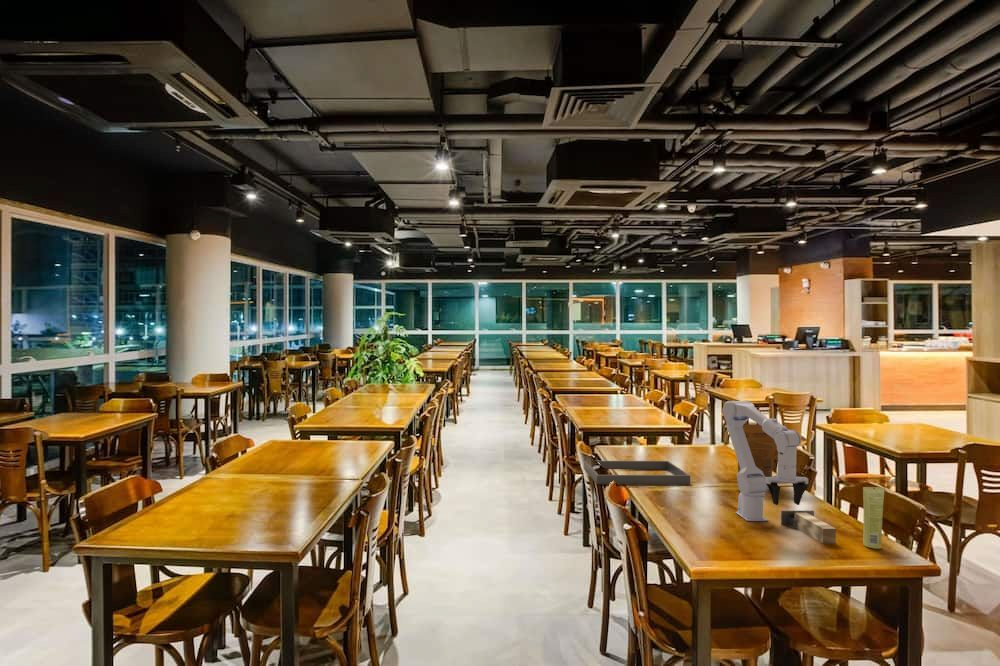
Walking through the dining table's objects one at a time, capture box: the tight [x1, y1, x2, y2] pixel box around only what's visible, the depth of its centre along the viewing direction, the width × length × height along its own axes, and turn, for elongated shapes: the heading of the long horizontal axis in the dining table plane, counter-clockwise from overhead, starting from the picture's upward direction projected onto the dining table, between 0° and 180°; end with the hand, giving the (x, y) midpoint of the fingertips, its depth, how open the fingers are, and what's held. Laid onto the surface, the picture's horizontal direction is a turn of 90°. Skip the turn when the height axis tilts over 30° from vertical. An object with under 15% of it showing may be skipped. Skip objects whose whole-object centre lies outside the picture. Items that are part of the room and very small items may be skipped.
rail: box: [794, 513, 837, 545], centre depth 195 cm, size 16×4×5 cm, turn 4°
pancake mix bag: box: [736, 423, 777, 483], centre depth 258 cm, size 7×19×28 cm, turn 88°
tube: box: [862, 486, 885, 550], centre depth 185 cm, size 6×5×20 cm
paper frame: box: [583, 460, 691, 485], centre depth 268 cm, size 28×43×4 cm, turn 93°
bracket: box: [780, 510, 815, 530], centre depth 202 cm, size 5×12×5 cm, turn 93°
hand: (786, 504), depth 196 cm, fingers open, 7 cm apart
